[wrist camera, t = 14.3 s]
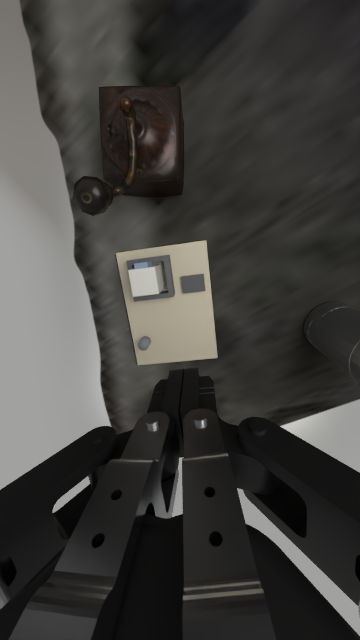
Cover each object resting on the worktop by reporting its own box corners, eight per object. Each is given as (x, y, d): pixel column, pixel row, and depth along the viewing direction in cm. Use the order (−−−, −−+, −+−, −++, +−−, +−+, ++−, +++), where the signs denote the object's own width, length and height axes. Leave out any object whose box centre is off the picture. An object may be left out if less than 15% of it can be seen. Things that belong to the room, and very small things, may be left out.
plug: (161, 258, 42) (153, 261, 35) (165, 285, 44) (159, 293, 36) (139, 261, 43) (127, 264, 35) (144, 288, 44) (133, 296, 36)
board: (205, 240, 42) (206, 239, 38) (217, 355, 48) (218, 365, 44) (117, 252, 44) (109, 253, 40) (139, 362, 50) (134, 372, 46)
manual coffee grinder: (115, 122, 38) (47, 18, 21) (185, 121, 37) (174, 12, 20) (120, 227, 42) (67, 213, 25) (183, 228, 42) (173, 214, 25)
